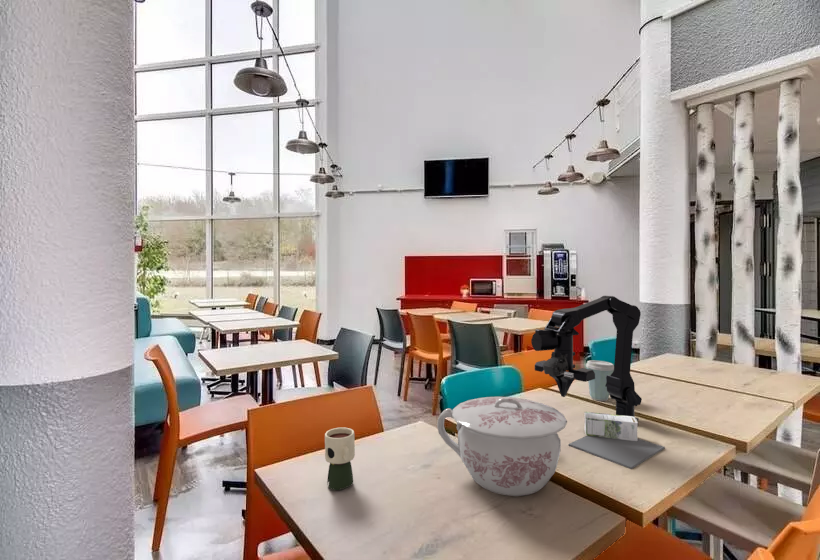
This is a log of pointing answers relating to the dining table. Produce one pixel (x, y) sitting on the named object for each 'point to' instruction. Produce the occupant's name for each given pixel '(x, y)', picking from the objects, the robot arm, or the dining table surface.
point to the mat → (618, 449)
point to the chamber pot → (506, 442)
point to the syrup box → (611, 426)
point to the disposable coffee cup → (599, 379)
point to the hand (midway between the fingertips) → (563, 396)
